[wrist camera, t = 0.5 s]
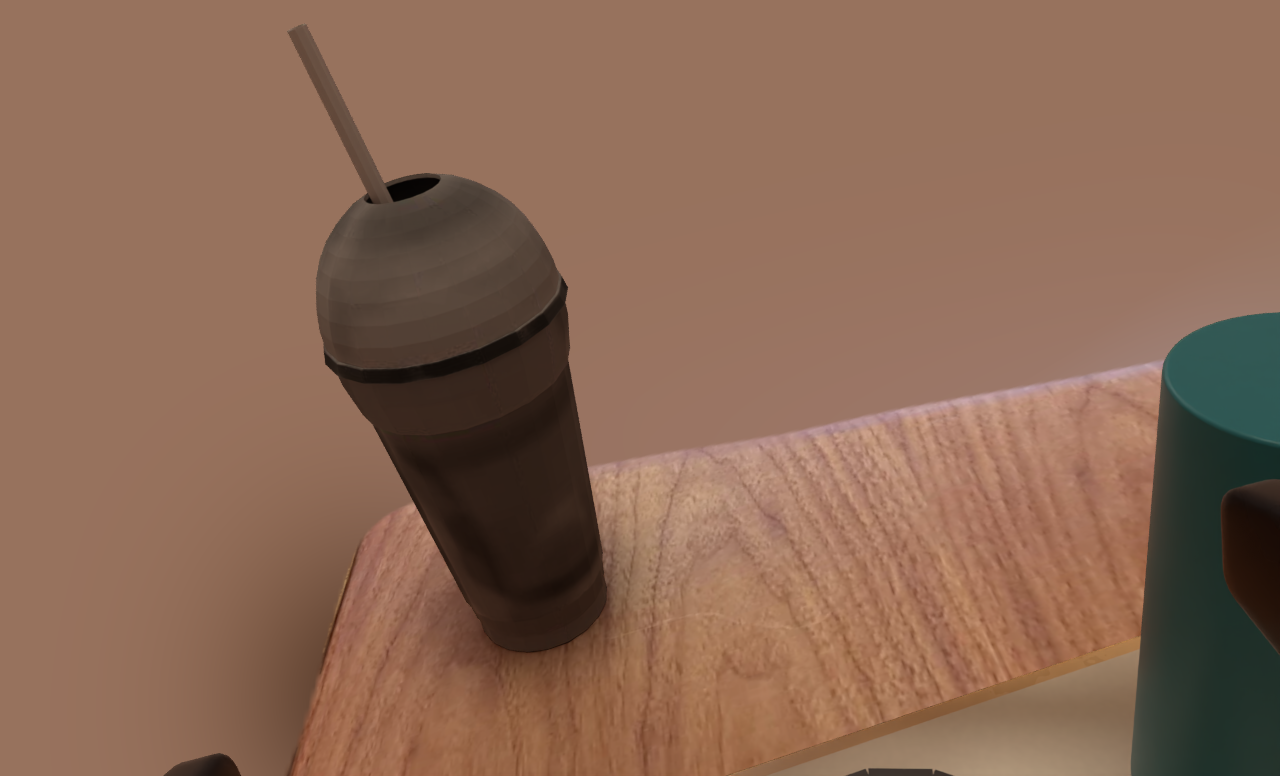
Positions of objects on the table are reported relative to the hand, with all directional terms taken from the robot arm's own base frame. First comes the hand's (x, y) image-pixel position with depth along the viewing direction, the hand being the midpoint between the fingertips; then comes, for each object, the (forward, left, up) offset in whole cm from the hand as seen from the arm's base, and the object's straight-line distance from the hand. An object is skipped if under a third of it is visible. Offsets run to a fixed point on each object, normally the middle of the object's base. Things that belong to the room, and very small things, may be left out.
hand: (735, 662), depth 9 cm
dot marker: (+6, -11, -16) cm, 20 cm away
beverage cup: (+21, +3, -17) cm, 27 cm away
